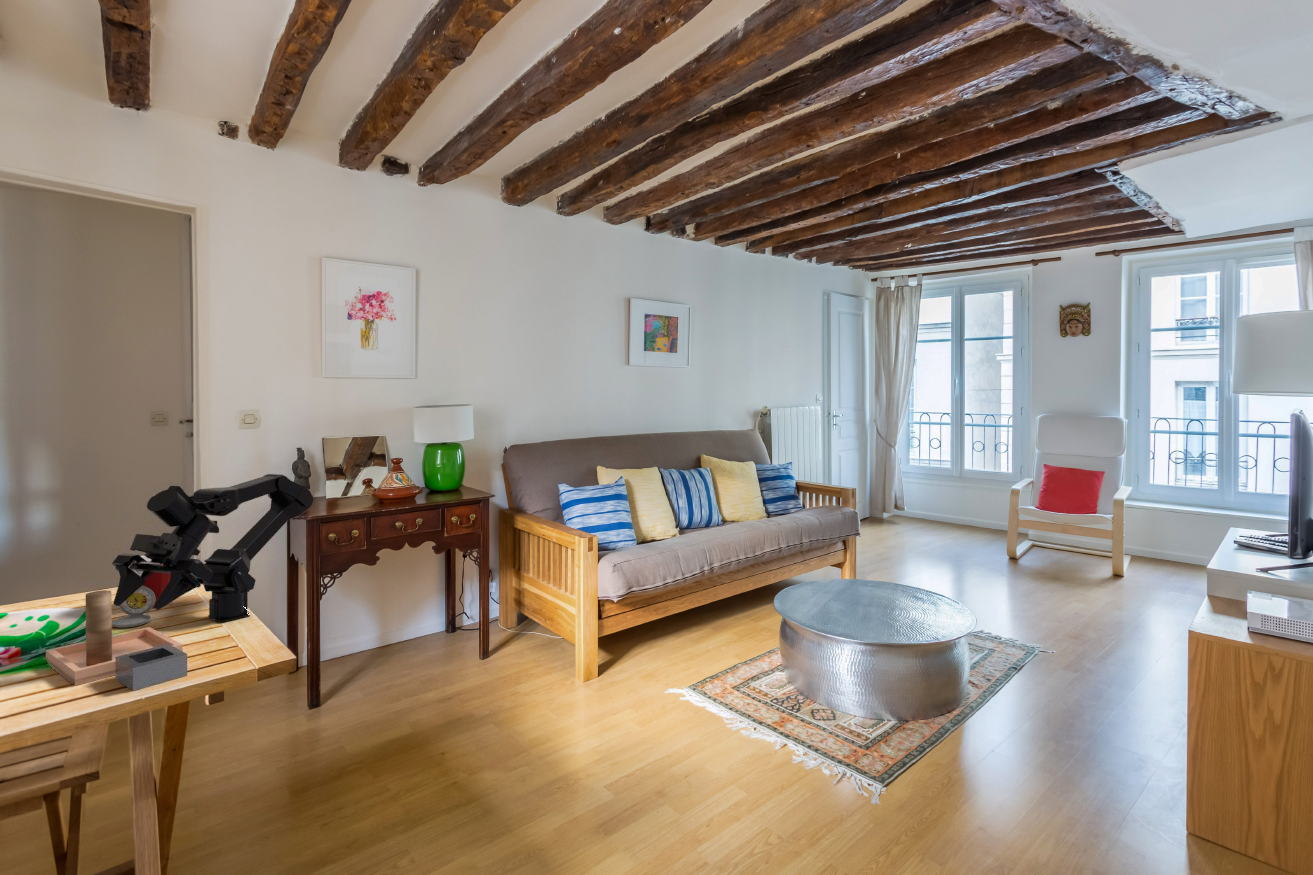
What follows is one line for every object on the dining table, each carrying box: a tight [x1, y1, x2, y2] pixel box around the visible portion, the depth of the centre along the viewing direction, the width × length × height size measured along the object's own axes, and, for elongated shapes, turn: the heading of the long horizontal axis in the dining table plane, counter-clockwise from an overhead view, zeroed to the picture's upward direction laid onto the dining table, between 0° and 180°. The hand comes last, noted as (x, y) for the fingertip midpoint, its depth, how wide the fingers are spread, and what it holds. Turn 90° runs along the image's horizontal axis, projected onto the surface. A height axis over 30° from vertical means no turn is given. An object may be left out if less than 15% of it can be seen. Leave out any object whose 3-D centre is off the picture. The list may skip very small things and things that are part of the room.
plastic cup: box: [138, 555, 170, 609], centre depth 154 cm, size 11×11×12 cm
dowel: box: [85, 589, 113, 666], centre depth 118 cm, size 4×4×13 cm
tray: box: [45, 626, 184, 687], centre depth 122 cm, size 16×16×2 cm
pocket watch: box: [112, 586, 156, 628], centre depth 142 cm, size 8×8×10 cm
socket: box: [115, 644, 188, 692], centre depth 115 cm, size 8×8×4 cm
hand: (135, 606), depth 125 cm, fingers open, 9 cm apart
